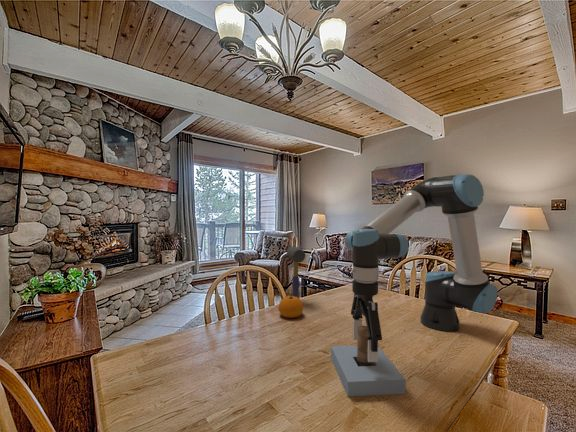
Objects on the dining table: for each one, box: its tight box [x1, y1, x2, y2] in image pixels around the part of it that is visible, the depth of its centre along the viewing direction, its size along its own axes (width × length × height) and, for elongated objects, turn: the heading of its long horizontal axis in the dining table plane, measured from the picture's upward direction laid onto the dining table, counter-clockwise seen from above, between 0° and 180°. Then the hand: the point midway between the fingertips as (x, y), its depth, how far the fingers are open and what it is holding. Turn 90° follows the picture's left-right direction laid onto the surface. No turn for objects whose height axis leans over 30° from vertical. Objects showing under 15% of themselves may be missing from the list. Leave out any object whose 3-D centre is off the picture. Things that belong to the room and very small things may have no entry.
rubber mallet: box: [286, 246, 306, 299], centre depth 153 cm, size 12×8×30 cm, turn 16°
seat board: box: [330, 345, 407, 397], centre depth 88 cm, size 16×20×4 cm
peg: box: [356, 325, 371, 367], centre depth 88 cm, size 4×4×14 cm
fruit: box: [278, 294, 304, 319], centre depth 136 cm, size 12×12×10 cm
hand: (364, 349), depth 88 cm, fingers open, 13 cm apart
